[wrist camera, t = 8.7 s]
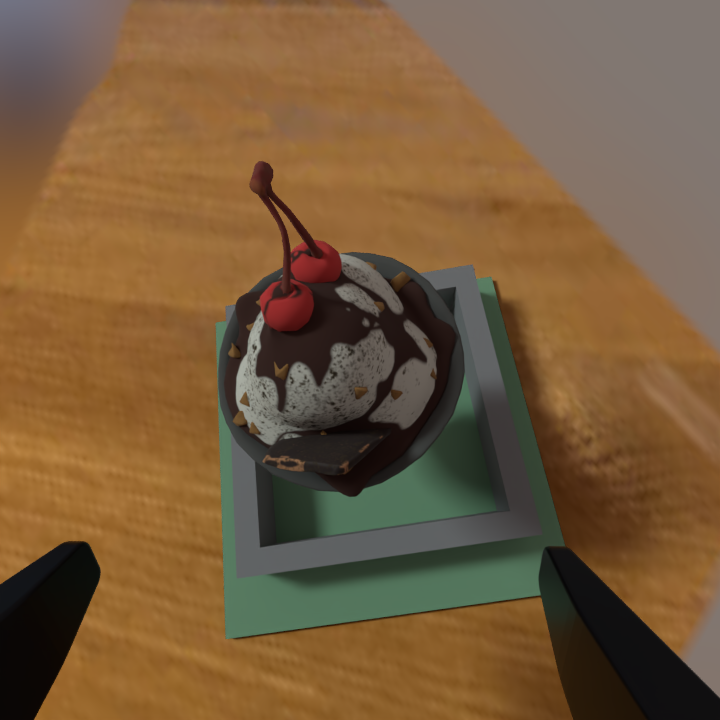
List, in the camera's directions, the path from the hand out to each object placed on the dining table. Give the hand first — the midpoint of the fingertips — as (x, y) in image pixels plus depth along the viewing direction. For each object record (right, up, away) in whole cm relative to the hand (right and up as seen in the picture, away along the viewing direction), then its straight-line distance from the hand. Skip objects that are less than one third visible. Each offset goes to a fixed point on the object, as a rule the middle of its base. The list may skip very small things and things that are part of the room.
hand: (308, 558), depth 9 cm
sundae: (+1, +1, +13) cm, 13 cm away
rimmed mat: (+1, +1, +13) cm, 13 cm away
